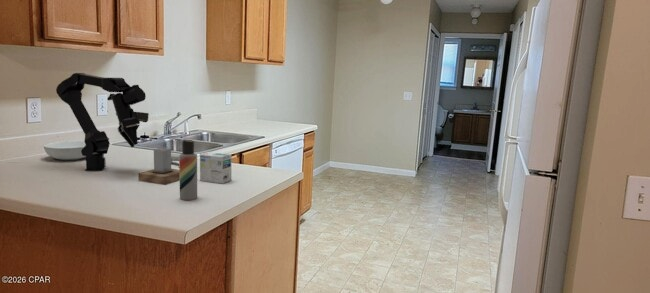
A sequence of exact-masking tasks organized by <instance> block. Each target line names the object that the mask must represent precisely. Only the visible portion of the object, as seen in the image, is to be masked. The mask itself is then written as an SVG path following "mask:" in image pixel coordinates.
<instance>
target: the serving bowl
mask: <svg viewBox="0 0 650 293" xmlns="http://www.w3.org/2000/svg"><path fill="white" fill-rule="evenodd" d="M84 141H85V140H61V141H53V142H49V143H48V142H47V143H45V144H44V145H43V149H44V152H45V153H46V155H48V156H50V157H51V158H52V159H56V160H57V159H58V160H61V161H76V160H81V159H83V158H86V156H82V153H81V150H82V149H83V148H84V147H85V145H86V144H85V142H84Z"/></svg>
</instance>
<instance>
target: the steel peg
mask: <svg viewBox="0 0 650 293" xmlns="http://www.w3.org/2000/svg"><path fill="white" fill-rule="evenodd" d="M171 153H172V149H171V148H164V147H160V148H156V149H155V148H154V149H153V169H154V173H157V174H167V173H171V169H172V161H171Z"/></svg>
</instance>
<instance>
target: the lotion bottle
mask: <svg viewBox="0 0 650 293" xmlns="http://www.w3.org/2000/svg"><path fill="white" fill-rule="evenodd" d="M181 148H182V153H179V154H180V155H179V161H178V163H179V164H178V165H179V169H178V170H179V172H180V180H179V199H180V200H183V201H193V200H196V199H197V198H198V154H197V153H196V152H195V141H194V140H192V139H183V140H182V141H181Z"/></svg>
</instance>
